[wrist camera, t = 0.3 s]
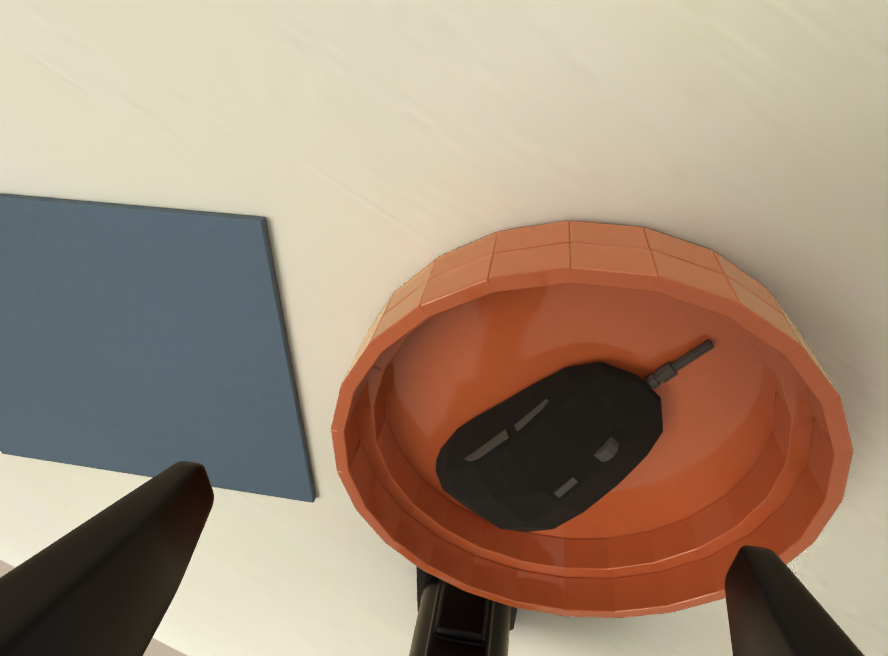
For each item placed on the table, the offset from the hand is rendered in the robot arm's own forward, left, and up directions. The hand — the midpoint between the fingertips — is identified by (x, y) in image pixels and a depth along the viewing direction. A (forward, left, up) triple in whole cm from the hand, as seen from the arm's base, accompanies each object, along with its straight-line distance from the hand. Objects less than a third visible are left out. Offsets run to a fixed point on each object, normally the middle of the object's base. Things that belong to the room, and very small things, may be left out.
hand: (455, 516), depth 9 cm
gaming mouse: (-10, -4, -14) cm, 18 cm away
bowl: (-10, -4, -14) cm, 18 cm away
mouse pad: (-10, +20, -14) cm, 27 cm away
